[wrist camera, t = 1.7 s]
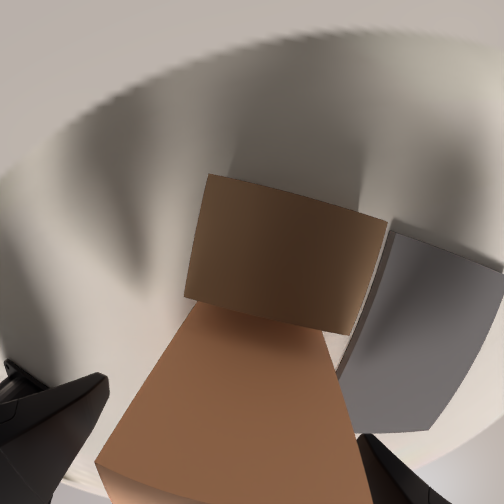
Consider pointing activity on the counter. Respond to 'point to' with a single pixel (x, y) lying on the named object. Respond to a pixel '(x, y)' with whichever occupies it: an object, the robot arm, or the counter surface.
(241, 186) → the walnut block
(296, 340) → the terracotta block
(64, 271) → the counter surface
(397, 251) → the charcoal mat
